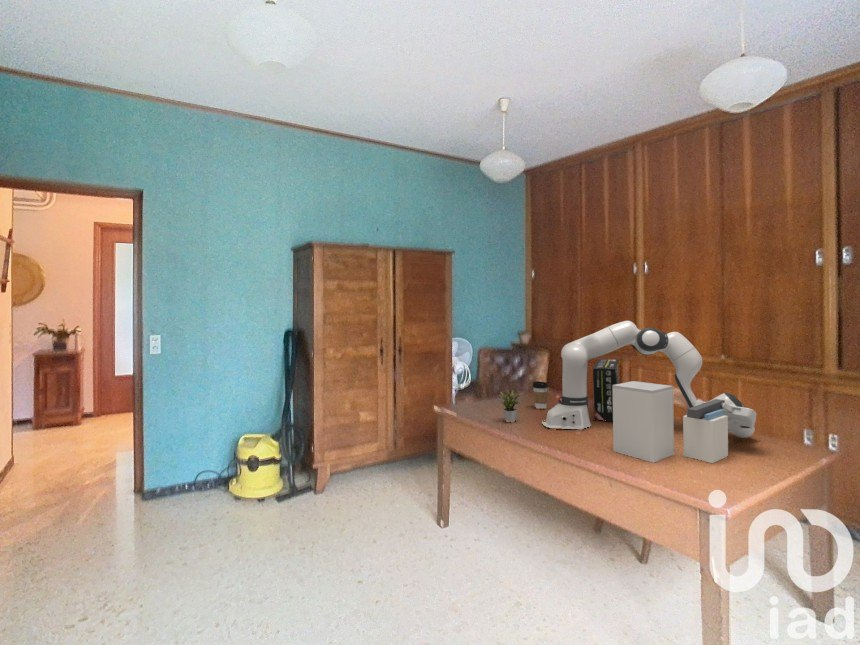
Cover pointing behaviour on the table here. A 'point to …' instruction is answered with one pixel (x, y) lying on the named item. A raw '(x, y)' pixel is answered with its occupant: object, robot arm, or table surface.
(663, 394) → the tall stand
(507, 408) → the house plant
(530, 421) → the table surface
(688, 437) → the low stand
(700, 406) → the dark grey bar
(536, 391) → the coffee cup
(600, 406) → the router box
